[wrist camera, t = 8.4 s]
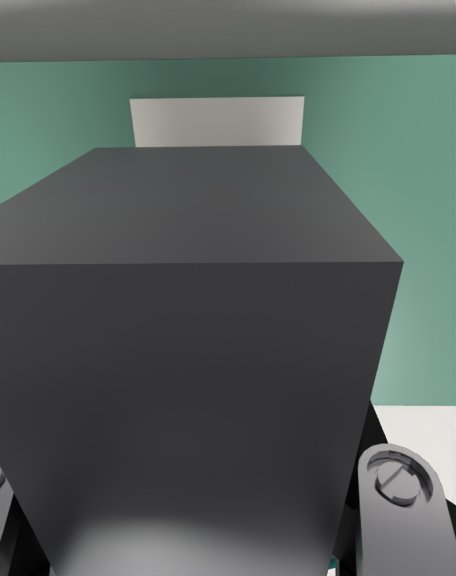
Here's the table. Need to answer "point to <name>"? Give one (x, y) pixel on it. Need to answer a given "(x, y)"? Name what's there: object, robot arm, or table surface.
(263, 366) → the block
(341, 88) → the header board
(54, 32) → the table surface
